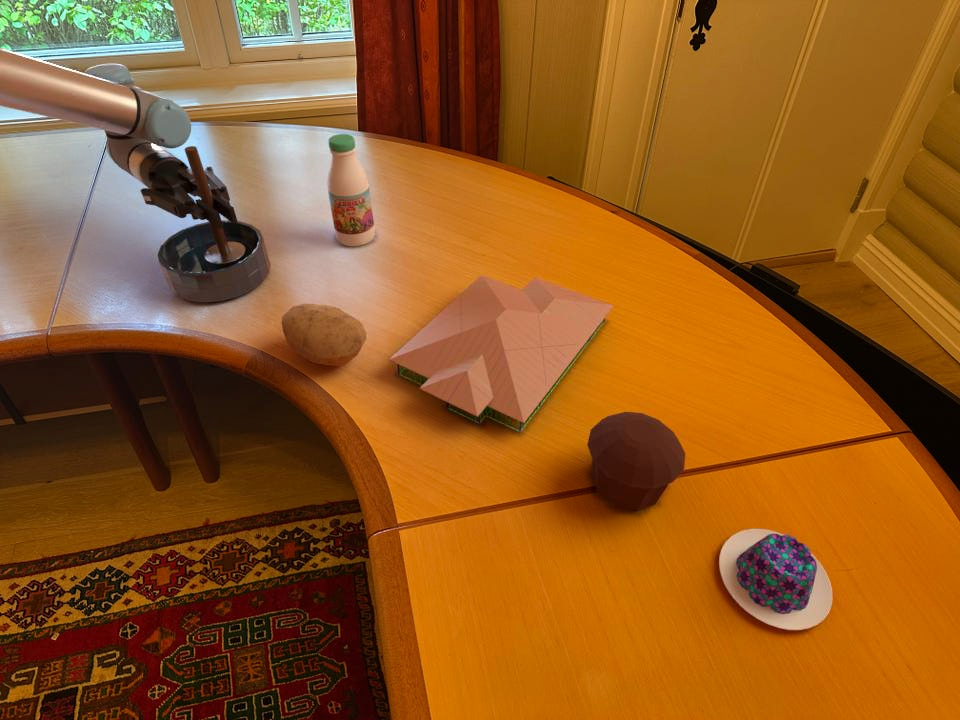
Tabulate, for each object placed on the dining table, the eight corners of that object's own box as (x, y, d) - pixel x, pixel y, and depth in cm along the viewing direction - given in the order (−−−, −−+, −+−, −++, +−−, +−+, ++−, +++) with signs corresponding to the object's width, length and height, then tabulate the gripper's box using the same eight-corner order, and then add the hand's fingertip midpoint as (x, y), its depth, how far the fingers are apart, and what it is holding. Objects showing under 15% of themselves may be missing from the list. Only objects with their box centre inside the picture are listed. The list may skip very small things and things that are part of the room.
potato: (312, 323, 101) (302, 284, 95) (382, 349, 96) (377, 310, 90) (271, 358, 94) (259, 318, 89) (345, 388, 90) (337, 348, 84)
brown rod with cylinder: (201, 275, 107) (157, 156, 92) (220, 253, 112) (181, 137, 97) (238, 279, 106) (200, 159, 91) (256, 257, 111) (222, 140, 96)
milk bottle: (331, 231, 122) (314, 133, 108) (368, 223, 124) (356, 126, 110) (342, 250, 117) (324, 150, 103) (380, 242, 119) (368, 143, 105)
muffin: (684, 470, 79) (704, 420, 72) (657, 535, 72) (676, 486, 65) (600, 434, 84) (611, 383, 77) (566, 492, 77) (575, 441, 70)
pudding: (697, 578, 68) (709, 554, 65) (748, 514, 74) (762, 489, 71) (800, 657, 62) (820, 636, 58) (847, 580, 68) (868, 556, 65)
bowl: (151, 300, 105) (137, 269, 100) (200, 246, 117) (189, 216, 113) (246, 310, 103) (236, 279, 98) (285, 254, 115) (278, 224, 111)
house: (379, 386, 90) (373, 345, 84) (494, 277, 110) (495, 239, 105) (512, 452, 81) (515, 411, 76) (610, 321, 102) (618, 281, 96)
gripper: (205, 177, 117) (271, 222, 105) (128, 204, 109) (190, 256, 97) (192, 139, 112) (261, 181, 100) (110, 165, 104) (174, 214, 92)
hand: (226, 218), depth 98 cm, fingers closed on brown rod with cylinder, 2 cm apart
